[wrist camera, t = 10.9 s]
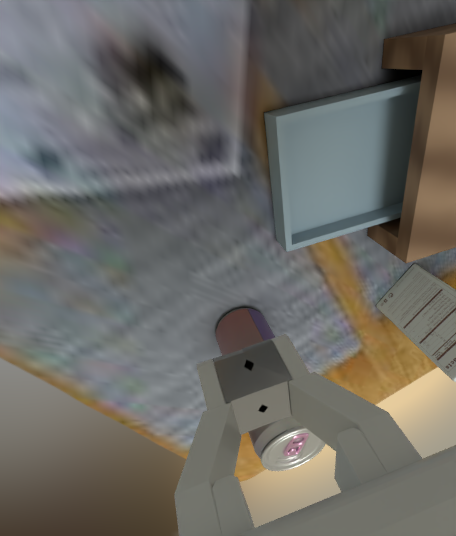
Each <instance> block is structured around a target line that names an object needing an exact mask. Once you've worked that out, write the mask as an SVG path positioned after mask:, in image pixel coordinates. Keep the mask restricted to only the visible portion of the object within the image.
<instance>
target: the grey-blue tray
mask: <svg viewBox="0 0 456 536" xmlns="http://www.w3.org/2000/svg"><path fill="white" fill-rule="evenodd" d="M421 77H422V75H418V76H414V77H410V78H406V79H402V80H397V81H393V82H389V83H385V84H381V85H377V86H373V87H368V88H364V89H360V90H356V91H352V92H348V93H343V94H339V95H335V96H331V97H327V98H323V99H318V100H314V101H310V102H306V103H302V104H298V105H293V106H289V107H285V108H281V109H277V110H273V111H268V112H264V117H265V128H266V138H267V148H268V159H269V169H270V180H271V190H272V200H273V211H274V221H275V231H276V240H277V241H278V243H279V244H280V245H281V246H282V247H283V248H284V250H285V251H286V252H288V251H291V250H295V249H298V248H301V247H305V246H308V245H311V244H315V243H318V242H321V241H325V240H328V239H331V238H335V237H338V236H341V235H344V234H348V233H351V232H354V231H358V230H361V229H364V228H368V227H371V226H374V225H378V224H381V223H384V222H388V221H391V220H394V219H398V218H401V213H402V206H403V200H404V193H405V186H406V179H407V172H408V166H409V159H410V152H411V145H412V138H413V132H414V125H415V118H416V111H417V104H418V97H419V91H420V84H421Z"/></svg>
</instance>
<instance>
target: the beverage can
mask: <svg viewBox="0 0 456 536" xmlns="http://www.w3.org/2000/svg"><path fill="white" fill-rule="evenodd" d="M272 338H275V336H274V334H273V332H272V330H271V329H270V327H269V325H268V323H267V321H266V320H265V318H264V316H263V315H262V314H261V313H260V312H258V311H256V310H254V309H250V308H239V309H236V310H233V311H231V312H229V313H228V314H226V315H225V316H224V317H223V318H222V319H221V321H220V322H219V324H218V327H217V329H216V339H217V342H218V345H219V347H220V350H221V353H222V356H223V355H226V354H229V353H232V352H236V351H239V350H242V349H243V348H246V347H249V346H251V345H254V344H257V343H260V342H263V341H265V340H268V339H272ZM249 435H250V438H251V441H252V444H253V447H254V450H255V452H256V454H257V455H258V456H259V458H260V459H261V463H262V465H263V466H264V467H265V468H266V469H268V470H271V471H284V470H289V469H292V468H295V467H298V466H300V465H302V464H304V463H306V462H308V461H309V460H311V459H312V458H313V457H315V456H316V455H317V454H318V453H319V452H320V451H321V450H322V449H323V447H324V446H325V444H326V443H325V442H323V441H322V440H321V439H319V438H318V437H317V436H316V435H314V434H313V433H312V432H310V431H309V430H308V429H307V428H305V427H304V426H303V425H301V424H300V423H299V422H298V421H296V420H295V419H294V418H292V416H290V417H287V418H284V419H281V420H278V421H275V422H272V423H269V424H266V425H264V426H261V427H259V428H257V429H254V430H252V431H249Z"/></svg>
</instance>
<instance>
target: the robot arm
mask: <svg viewBox="0 0 456 536" xmlns="http://www.w3.org/2000/svg"><path fill="white" fill-rule="evenodd" d="M213 362H214V363H213ZM197 370H198V374H199V378H200V382H201V386H202V390H203V394H204V398H205V402H206V406H207V411H205V412H203V414H202V417H201V420H200V422H199V425H198V428H197V431H196V434H195V437H194V440H193V443H192V445H191V448H190V451H189V454H188V457H187V460H186V463H185V466H184V468H183V471H182V474H181V477H180V480H179V483H178V486H177V489H176V491H175V503H176V512H177V520H178V527H179V536H456V445H455V446H453V447H450V448H448V449H445V450H443V451H440V452H438V453H436V454H433V455H431V456H428V457H426V458H423V459H422V457H421V456H420V455H419V453H418V452H417V451H416V449H415V448H414V447H413V445H412V444H411V443H410V441H409V440H408V439H407V437H406V436H405V434H404V433H403V432H402V430H401V429H400V428H399V426H398V425H397V424H396V422H395V421H394V420H393V418H392V417H391V416H390V414H389V413H388V412H387V411H385V410H383V409H381V408H379V407H377V406H376V405H374V404H372V403H370V402H368V401H366V400H365V399H363V398H361V397H359V396H357V395H355V394H354V393H352V392H350V391H348V390H346V389H345V388H343V387H341V386H339V385H337V384H335V383H334V382H332V381H330V380H328V379H326V378H324V377H323V376H321V375H319V374H317V373H315V372H313V373H309V371H308V369H307V367H306V366H305V364H304V362H303V361H302V359H301V357H300V356H299V354H298V352H297V351H296V349H295V347H294V346H293V344H292V342H291V341H290V339H289V337H288V336H287V335H286V334H284V335H281V336H278V337H275V338H272V339H268V340H265V341H263V342H260V343H257V344H254V345H251V346H249V347H246V348H243V349H242V350H239V351H236V352H232V353H229V354H226V355H223V356H219V357H216V358H213V360H212V359H210V360H207V361H204V362H201V363H198V364H197ZM216 372H217V373H216ZM290 416H292V418H294V419H295V420H296V421H298V422H299V423H300V424H301V425H303V426H304V427H305V428H307V429H308V430H309V431H310V432H312V433H313V434H314V435H316V436H317V437H318V438H319V439H321V440H322V441H323V442H325V443H326V444H327V445H329V446H330V447H331V448H333V449H334V450H335V451H336V464H335V480H336V482H337V484H338V486H339V488H340V490H341V493H339V494H337V495H334V496H332V497H330V498H327V499H324V500H322V501H320V502H317V503H315V504H312V505H310V506H307V507H305V508H303V509H301V510H298V511H295V512H293V513H291V514H288V515H286V516H283V517H281V518H278V519H276V520H274V521H271V522H269V523H266V524H264V525H261V526H259V527H257V528H255V527H254V524H253V521H252V517H251V514H250V511H249V508H248V505H247V503H246V500H245V497H244V494H243V492H242V489H241V486H240V483H239V480H238V478H237V477H235V476H234V472H235V467H236V461H237V456H238V451H239V446H240V441H241V435H242V434H244V433H247V432H249V431H252V430H254V429H257V428H259V427H261V426H264V425H266V424H269V423H272V422H275V421H278V420H281V419H284V418H287V417H290Z"/></svg>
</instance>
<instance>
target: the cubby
mask: <svg viewBox="0 0 456 536" xmlns="http://www.w3.org/2000/svg"><path fill="white" fill-rule="evenodd" d="M382 68H386V69H412V70H422V77H421V84H420V91H419V97H418V104H417V111H416V118H415V125H414V132H413V138H412V145H411V152H410V159H409V166H408V172H407V179H406V186H405V193H404V200H403V206H402V213H401V218H398V219H394V220H391V221H388V222H384V223H381V224H378V225H374V226H371V227H368V235H367V236H369V237H370V238H371V239H373V240H374V241H376V242H377V243H378V244H380V245H381V246H383V247H384V248H385V249H387V250H388V251H389V252H391V253H392V254H394V255H395V256H396V257H398V258H399V259H401V260H402V261H403V262H405V263H408V262H412V261H415V260H418V259H421V258H424V257H427V256H430V255H433V254H436V253H439V252H442V251H446V250H449V249H452V248H455V247H456V23H455V24H450V25H446V26H441V27H437V28H432V29H428V30H423V31H419V32H414V33H410V34H405V35H401V36H396V37H392V38H387V39H384V49H383V60H382Z"/></svg>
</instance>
